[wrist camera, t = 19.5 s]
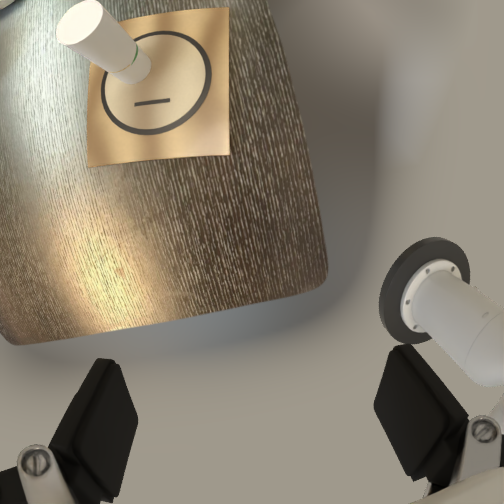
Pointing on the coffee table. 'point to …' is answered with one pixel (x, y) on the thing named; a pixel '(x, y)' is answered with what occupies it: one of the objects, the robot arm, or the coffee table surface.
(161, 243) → the coffee table surface
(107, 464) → the robot arm
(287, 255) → the coffee table surface
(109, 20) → the tube
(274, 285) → the coffee table surface
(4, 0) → the vase
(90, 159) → the drawing board
